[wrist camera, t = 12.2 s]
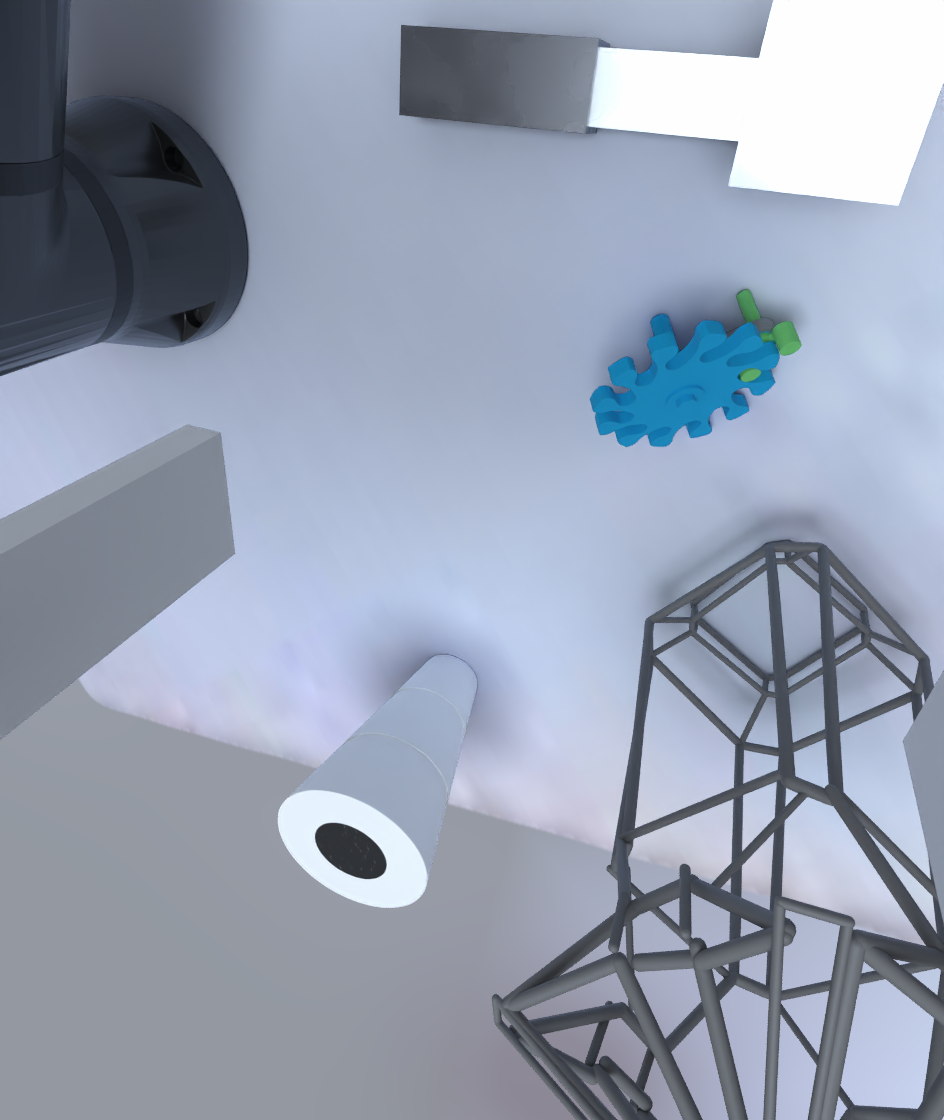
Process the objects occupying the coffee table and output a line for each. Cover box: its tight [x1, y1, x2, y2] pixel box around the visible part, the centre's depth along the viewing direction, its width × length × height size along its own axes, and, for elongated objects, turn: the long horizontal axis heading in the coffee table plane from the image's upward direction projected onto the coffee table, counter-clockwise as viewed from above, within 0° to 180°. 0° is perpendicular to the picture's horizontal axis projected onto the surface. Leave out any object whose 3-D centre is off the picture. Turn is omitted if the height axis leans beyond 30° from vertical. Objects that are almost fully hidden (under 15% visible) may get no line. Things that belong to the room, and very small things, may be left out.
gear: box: [590, 290, 801, 447], centre depth 39 cm, size 11×6×10 cm
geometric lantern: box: [492, 540, 944, 1120], centre depth 33 cm, size 16×16×35 cm
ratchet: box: [399, 25, 759, 141], centre depth 33 cm, size 24×6×7 cm, turn 86°
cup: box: [278, 655, 478, 908], centre depth 53 cm, size 11×11×18 cm
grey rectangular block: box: [728, 0, 944, 205], centre depth 28 cm, size 6×6×8 cm
